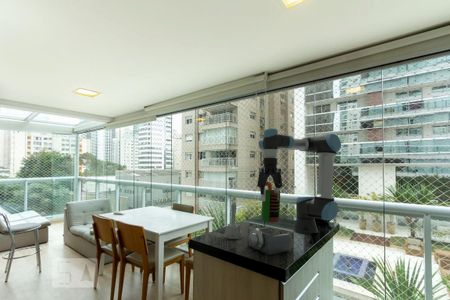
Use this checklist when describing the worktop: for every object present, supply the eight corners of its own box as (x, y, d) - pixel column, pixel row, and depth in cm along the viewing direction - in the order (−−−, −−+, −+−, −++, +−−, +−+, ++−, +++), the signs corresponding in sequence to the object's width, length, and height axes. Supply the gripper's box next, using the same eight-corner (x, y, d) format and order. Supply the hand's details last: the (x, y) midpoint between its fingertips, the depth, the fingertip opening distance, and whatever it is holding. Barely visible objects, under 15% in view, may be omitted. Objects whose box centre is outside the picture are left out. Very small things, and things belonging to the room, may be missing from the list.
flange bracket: (267, 241, 132) (268, 222, 132) (289, 250, 118) (289, 229, 119) (242, 246, 122) (242, 225, 123) (262, 256, 109) (262, 233, 110)
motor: (274, 223, 116) (275, 182, 118) (258, 220, 121) (259, 181, 123) (281, 220, 125) (282, 182, 127) (265, 217, 130) (266, 181, 132)
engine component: (223, 238, 137) (240, 239, 135) (223, 202, 138) (240, 203, 136) (226, 233, 147) (242, 234, 145) (227, 200, 149) (243, 201, 147)
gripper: (279, 158, 134) (279, 199, 132) (250, 156, 123) (249, 200, 121) (289, 158, 128) (289, 200, 126) (259, 156, 117) (259, 202, 115)
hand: (269, 200), depth 124 cm, fingers closed on motor, 8 cm apart
